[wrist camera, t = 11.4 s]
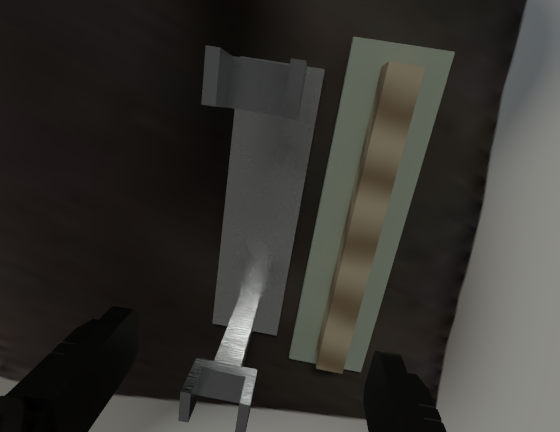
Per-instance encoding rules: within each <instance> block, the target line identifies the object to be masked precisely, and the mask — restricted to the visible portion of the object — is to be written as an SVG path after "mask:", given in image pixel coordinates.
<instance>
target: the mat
mask: <svg viewBox="0 0 560 432" xmlns="http://www.w3.org/2000/svg"><path fill="white" fill-rule="evenodd" d="M454 53H455V52H452V51H445V50H438V49H432V48H425V47H419V46H412V45H406V44H399V43H392V42H386V41H379V40H373V39H366V38H359V37H353V39H352V43H351V48H350V53H349V58H348V63H347V68H346V73H345V78H344V83H343V88H342V93H341V98H340V103H339V108H338V113H337V118H336V123H335V128H334V133H333V138H332V143H331V148H330V153H329V158H328V163H327V168H326V173H325V178H324V183H323V188H322V193H321V198H320V203H319V208H318V213H317V218H316V222H315V227H314V232H313V237H312V242H311V247H310V252H309V257H308V262H307V267H306V272H305V277H304V282H303V287H302V292H301V297H300V302H299V307H298V312H297V317H296V322H295V327H294V332H293V337H292V342H291V347H290V352H289V359H294V360H300V361H305V362H310V363H315V364H316V347H317V342H318V338H319V334H320V329H321V325H322V321H323V317H324V312H325V308H326V304H327V299H328V295H329V291H330V286H331V282H332V278H333V273H334V269H335V265H336V260H337V256H338V252H339V248H340V243H341V239H342V235H343V230H344V226H345V222H346V217H347V213H348V209H349V204H350V200H351V196H352V191H353V187H354V183H355V179H356V174H357V170H358V166H359V161H360V157H361V153H362V148H363V144H364V140H365V135H366V131H367V127H368V122H369V118H370V114H371V110H372V105H373V101H374V97H375V92H376V88H377V84H378V79H379V75H380V71H381V66H383V65H384V64H386V63H387V62H389V61H392V62H398V63H405V64H411V65H418V66H424V67H426V68H425V71H424V75H423V79H422V82H421V86H420V90H419V94H418V97H417V101H416V105H415V108H414V112H413V116H412V119H411V123H410V127H409V130H408V134H407V138H406V141H405V145H404V149H403V152H402V156H401V160H400V163H399V167H398V171H397V174H396V178H395V182H394V186H393V189H392V193H391V197H390V200H389V204H388V208H387V211H386V215H385V219H384V222H383V226H382V230H381V233H380V237H379V241H378V244H377V248H376V252H375V255H374V259H373V263H372V266H371V270H370V274H369V278H368V281H367V285H366V289H365V292H364V296H363V300H362V303H361V307H360V311H359V314H358V318H357V322H356V325H355V329H354V333H353V336H352V340H351V344H350V347H349V351H348V355H347V359H346V362H345V366H344V369H346V370H351V371H356V372H361V370H362V366H363V363H364V360H365V356H366V353H367V349H368V346H369V343H370V339H371V336H372V332H373V329H374V326H375V322H376V319H377V315H378V312H379V309H380V305H381V302H382V298H383V295H384V292H385V288H386V285H387V281H388V278H389V275H390V271H391V268H392V264H393V261H394V258H395V254H396V251H397V247H398V244H399V241H400V237H401V234H402V230H403V227H404V224H405V220H406V217H407V213H408V210H409V207H410V203H411V200H412V196H413V193H414V189H415V186H416V183H417V179H418V176H419V172H420V169H421V166H422V162H423V159H424V155H425V152H426V149H427V145H428V142H429V138H430V135H431V132H432V128H433V125H434V121H435V118H436V115H437V111H438V108H439V104H440V101H441V98H442V94H443V91H444V87H445V84H446V81H447V77H448V74H449V70H450V67H451V64H452V60H453V57H454Z"/></svg>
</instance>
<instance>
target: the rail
mask: <svg viewBox="0 0 560 432" xmlns="http://www.w3.org/2000/svg"><path fill="white" fill-rule="evenodd" d="M425 68H426V67H424V66H418V65H411V64H405V63H398V62H392V61H389V62H387V63H386V64H384V65H383V66H381V71H380V75H379V79H378V84H377V88H376V92H375V97H374V101H373V105H372V110H371V114H370V118H369V122H368V127H367V131H366V135H365V140H364V144H363V148H362V153H361V157H360V161H359V166H358V170H357V174H356V179H355V183H354V187H353V191H352V196H351V200H350V204H349V209H348V213H347V217H346V222H345V226H344V230H343V235H342V239H341V243H340V248H339V252H338V256H337V260H336V265H335V269H334V273H333V278H332V282H331V286H330V291H329V295H328V299H327V304H326V308H325V312H324V317H323V321H322V325H321V329H320V334H319V338H318V342H317V347H316V369H321V370H326V371H331V372H336V373H341V374H342V373H343V370H344V366H345V362H346V359H347V355H348V351H349V347H350V344H351V340H352V336H353V333H354V329H355V325H356V322H357V318H358V314H359V311H360V307H361V303H362V300H363V296H364V292H365V289H366V285H367V281H368V278H369V274H370V270H371V266H372V263H373V259H374V255H375V252H376V248H377V244H378V241H379V237H380V233H381V230H382V226H383V222H384V219H385V215H386V211H387V208H388V204H389V200H390V197H391V193H392V189H393V186H394V182H395V178H396V174H397V171H398V167H399V163H400V160H401V156H402V152H403V149H404V145H405V141H406V138H407V134H408V130H409V127H410V123H411V119H412V116H413V112H414V108H415V105H416V101H417V97H418V94H419V90H420V86H421V82H422V79H423V75H424V71H425Z"/></svg>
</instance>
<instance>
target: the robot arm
mask: <svg viewBox="0 0 560 432" xmlns="http://www.w3.org/2000/svg"><path fill="white" fill-rule="evenodd" d="M138 351H139V317H138V312H137V310H134V309H128V308H122V307H116V306H114V307H111V308H110V309H109V310H108V311H107V312H106V313H105V314H104V315H103V316H102V317H101V318H100V319H99V320H95V319H92V320H90V321H89V322H87V323H85V324H83V325H81V326H79V327H78V328H76V329H75V330H74V331H73V332H72V333H71V334H70V335H69V336H67V337H66V338H65V339H64V340H63V343H60V344H59V345H58V346H57V347H56V348H55V349H54V350H53V352H52V353H50V354H49V355H47V356H46V357H45V358H44V359H43V360H42V361H41V362H40V363H39V364H38V365H37V366H36V367H35V368H34V369H33V370H32V371H31V372H30V373H29V374H27V375H26V376H25V377H24V378H23V379H22V380H21V381H20V382H19V383H18V384H17V385H16V386H15V387H14V388H13V389H12V390H11V391H10V392H9V393H8V394H6V395H5V396H0V432H88V431H89V429H90V428H91V426H92V425H93V424H94V422H95V420H96V419H97V418H98V416H99V414H100V413H101V412H102V410H103V409H104V407H105V406H106V404H107V403H108V401H109V400H110V399H111V397H112V396H113V394H114V393H115V391H116V390H117V388H118V387H119V385H120V384H121V383H122V381H123V380H124V378H125V377H126V375H127V374H128V372H129V371H130V369H131V368H132V366H133V365H134V363H135V361H136V358H137V355H138ZM364 409H365V414H366V420H367V425H368V431H369V432H446V429H445V427H444V424H443V423H442V422H441V417H440V415H439V412H438V410H437V409H436V405H435V403H434V400H433V398H432V396H431V393H430V391H429V389H428V388H427V387H426V385H425V384H424V383H423V382H422V380H421V379H420V378H419V377H418V376H417V375H416V374H410V373H407V370H406V367H405V365H404V362H403V359H402V357H401V355H399V354H394V353H388V352H382V351H375V353H374V355H373V359H372V362H371V366H370V369H369V373H368V376H367V380H366V384H365V388H364Z"/></svg>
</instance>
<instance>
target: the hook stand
mask: <svg viewBox="0 0 560 432" xmlns="http://www.w3.org/2000/svg"><path fill="white" fill-rule="evenodd" d="M324 72H325V69H319V68H313V67H307V66H306V61H304V60H297V59H291V62H290V64H287V63H281V62H274V61H268V60H262V59H255V58H249V57H242V56H240V57H235V56H231V55H230V54H229V53H227V52H226V51H224V50H223V49H222V48H220V47H214V46H208V45H206V48H205V62H204V76H203V89H202V103H201V104H203V105H209V106H215V107H227V108H233V109H235V112H234V122H233V131H232V141H231V151H230V160H229V170H228V179H227V189H226V199H225V208H224V218H223V227H222V237H221V247H220V256H219V266H218V276H217V285H216V295H215V304H214V314H213V324H218V325H224V326H228V327H227V329H226V332H225V334H224V337H223V339H222V342H221V345H220V347H219V350H218V352H217V355H216V357H215V360H214V361H211V360H206V359H201V358H196V360H195V362H194V364H193V366H192V368H191V370H190V373H189V375H188V377H187V379H186V381H185V383H184V385H183V387H182V390H181V393H180V406H179V421H183V422H189V419H190V417H191V414H192V412H193V409H194V407H195V404H196V402H197V399H198V397H199V395H200V396H205V397H210V398H215V399H220V400H225V401H230V402H235V403H239V410H238V417H237V424H236V430H235V432H246V427H247V422H248V418H249V413H250V408H251V403H252V398H253V393H254V387H255V380H256V374H257V369H252V368H247V367H243V365H244V362H245V358H246V354H247V351H248V347H249V343H250V339H251V336H252V332H253V331H255V332H260V333H266V334H271V335H276V336H277V331H278V325H279V320H280V314H281V309H282V303H283V298H284V292H285V287H286V281H287V276H288V270H289V265H290V259H291V254H292V248H293V243H294V237H295V232H296V226H297V221H298V215H299V210H300V204H301V199H302V193H303V188H304V182H305V177H306V171H307V166H308V160H309V155H310V149H311V143H312V138H313V132H314V127H315V121H316V116H317V110H318V105H319V99H320V94H321V88H322V83H323V77H324Z"/></svg>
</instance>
